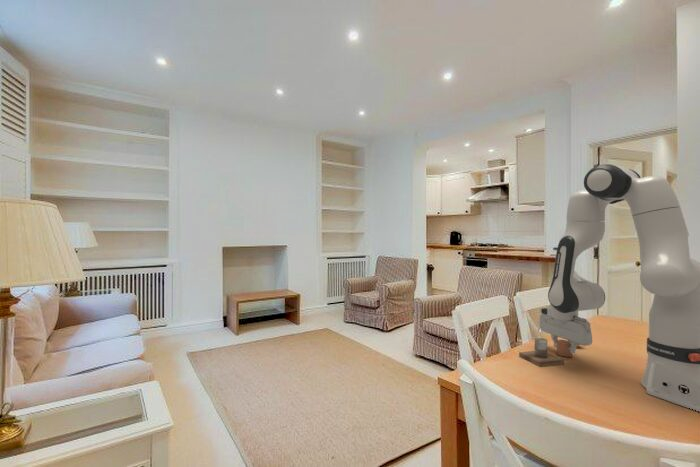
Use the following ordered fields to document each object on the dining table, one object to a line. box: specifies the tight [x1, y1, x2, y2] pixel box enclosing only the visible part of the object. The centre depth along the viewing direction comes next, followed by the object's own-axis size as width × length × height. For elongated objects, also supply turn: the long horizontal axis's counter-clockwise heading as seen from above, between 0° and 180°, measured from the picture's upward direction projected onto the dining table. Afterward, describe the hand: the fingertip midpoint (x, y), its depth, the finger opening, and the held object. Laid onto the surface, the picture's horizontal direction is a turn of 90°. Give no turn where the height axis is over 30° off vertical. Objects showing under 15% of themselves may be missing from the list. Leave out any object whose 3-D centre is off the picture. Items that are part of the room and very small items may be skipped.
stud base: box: [518, 337, 565, 368], centre depth 122 cm, size 10×10×8 cm
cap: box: [556, 339, 573, 358], centre depth 127 cm, size 5×5×5 cm
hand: (564, 349), depth 127 cm, fingers closed on cap, 5 cm apart
